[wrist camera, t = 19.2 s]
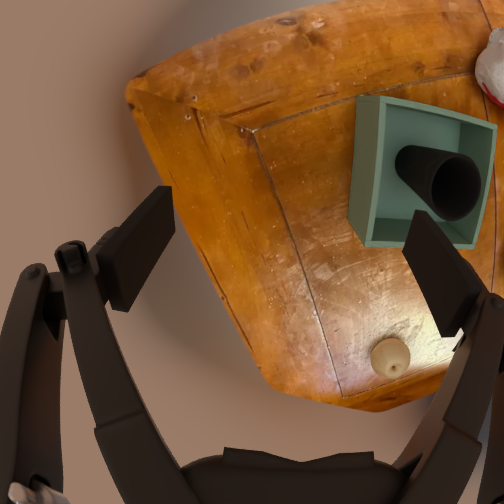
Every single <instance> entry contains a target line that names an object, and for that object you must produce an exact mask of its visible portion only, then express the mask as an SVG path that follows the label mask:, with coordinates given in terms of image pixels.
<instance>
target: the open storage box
mask: <svg viewBox="0 0 504 504" xmlns="http://www.w3.org/2000/svg"><path fill="white" fill-rule="evenodd" d="M496 137H497V125H496V124H493V123H490V122H487V121H484V120H481V119H478V118H475V117H472V116H468V115H465V114H462V113H458V112H455V111H451V110H447V109H444V108H440V107H436V106H432V105H427V104H423V103H419V102H414V101H409V100H404V99H399V98H394V97H388V96H382V95H372V96H357V97H356V120H355V139H354V154H353V167H352V178H351V189H350V198H349V207H348V216H347V219H348V221H349V223H350V224H351V226H352V227H353V229H354V231H355V232H356V234H357V235H358V237H359V239H360V240H361V242H362V243H363V245H364V247H396V248H403V247H404V244H405V241H406V238H407V235H408V232H409V228H410V225H411V222H412V218H413V215H414V211H415V209H417V210H423V211H427V212H428V213H429V215H430V216H431V217H432V218H433V220H434V221H435V222H436V223H437V225H438V226H439V227H440V228H441V230H442V231H443V232H444V233H445V235H446V236H447V237H448V239H449V240H450V241H451V243H452V244H453V245H454V247H455V248H456V249H467V250H474V249H475V245H476V242H477V238H478V235H479V231H480V227H481V223H482V219H483V215H484V210H485V206H486V201H487V197H488V192H489V186H490V181H491V175H492V169H493V162H494V155H495V146H496ZM407 145H417V146H423V147H429V148H435V149H440V150H445V151H450V152H455V153H460V154H464V155H466V156H468V157H470V158H471V159H472V160H473V161H474V162H475V164H476V166H477V167H478V169H479V172H480V176H481V192H480V195H479V199H478V201H477V203H476V205H475V207H474V208H473V210H472V211H471V212H470V213H469V214H468V215H467V216H465V217H464V218H462V219H460V220H457V221H446V220H443V219H441V218H440V217H439V216H437V215H436V214H435V213H434V212H433V211H432V210H431V208H430V207H429V206H428V205H427V204H426V203H425V202H424V201H423V200H422V199H421V198H420V197H419V196H418V195H417V194H416V193H415V192H414V191H413V190H412V189H411V188H410V187H409V186H408V185H407V184H406V183H405V182H404V181H403V180H401V178H400V177H399V176H398V175H397V173H396V170H395V158H396V156H397V154H398V152H399V151H400V150H401V149H402V148H403V147H405V146H407Z"/></svg>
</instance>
